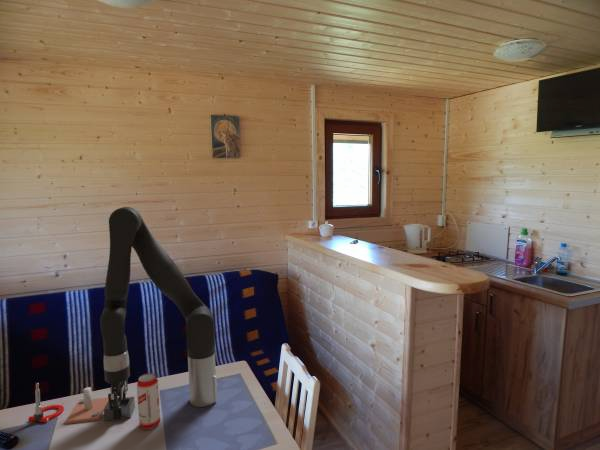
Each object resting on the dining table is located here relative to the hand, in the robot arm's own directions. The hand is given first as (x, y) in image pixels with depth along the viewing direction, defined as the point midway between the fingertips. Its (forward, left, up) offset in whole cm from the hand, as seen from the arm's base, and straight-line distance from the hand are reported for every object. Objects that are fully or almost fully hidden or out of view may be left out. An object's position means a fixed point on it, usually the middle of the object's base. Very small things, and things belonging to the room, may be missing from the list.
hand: (120, 412), depth 129 cm
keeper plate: (+11, -4, -1) cm, 12 cm away
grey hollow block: (0, 0, -1) cm, 1 cm away
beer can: (-11, +8, -1) cm, 14 cm away
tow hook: (+24, -5, -1) cm, 25 cm away
